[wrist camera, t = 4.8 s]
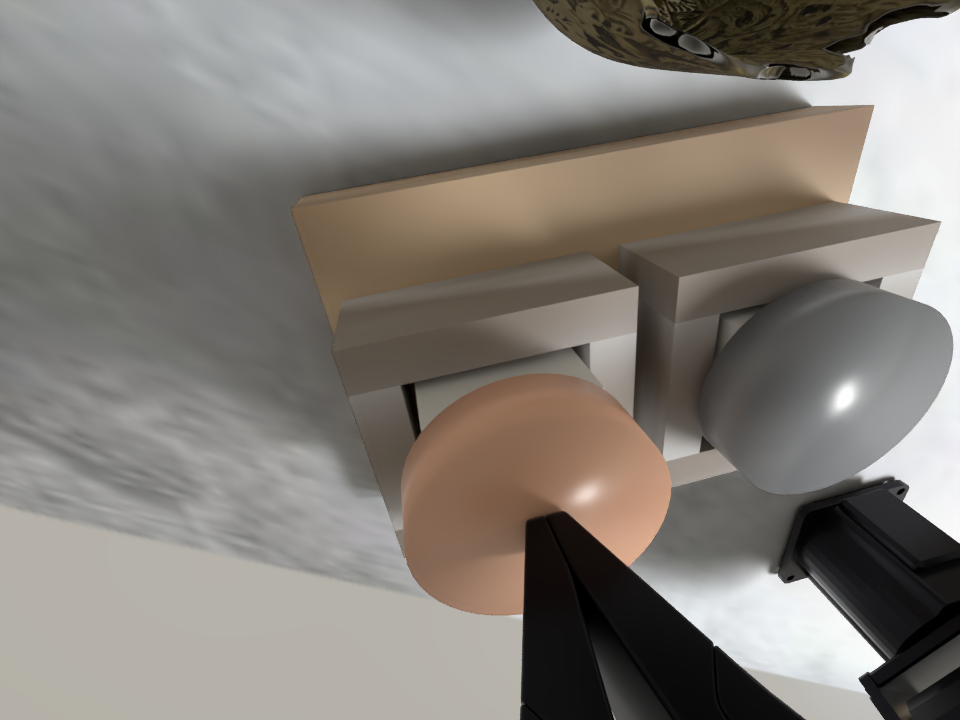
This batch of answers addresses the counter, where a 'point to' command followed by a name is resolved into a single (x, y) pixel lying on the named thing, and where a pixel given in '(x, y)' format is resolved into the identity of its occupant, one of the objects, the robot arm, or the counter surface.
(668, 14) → the cup
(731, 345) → the plunger grey
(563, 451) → the plunger terracotta
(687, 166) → the button board
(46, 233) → the counter surface
